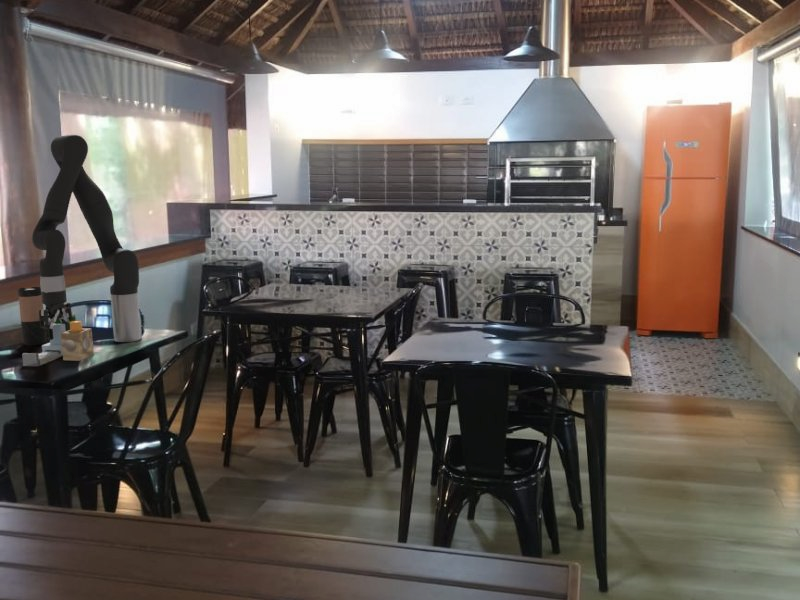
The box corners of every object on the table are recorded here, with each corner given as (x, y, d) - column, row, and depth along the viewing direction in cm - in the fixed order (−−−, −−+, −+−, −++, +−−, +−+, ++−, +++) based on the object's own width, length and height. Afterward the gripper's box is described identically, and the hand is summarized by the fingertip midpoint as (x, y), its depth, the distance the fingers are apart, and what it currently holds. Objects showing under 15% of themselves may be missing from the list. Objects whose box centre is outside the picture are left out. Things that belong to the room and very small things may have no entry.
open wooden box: (77, 354, 255) (75, 328, 253) (94, 354, 254) (92, 328, 252) (62, 360, 247) (60, 333, 245) (80, 361, 246) (78, 334, 244)
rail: (65, 348, 263) (64, 337, 262) (78, 349, 262) (77, 338, 261) (23, 366, 241) (22, 353, 240) (37, 366, 240) (36, 354, 239)
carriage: (55, 349, 259) (52, 322, 257) (75, 349, 258) (73, 322, 256) (42, 354, 252) (39, 326, 250) (63, 354, 251) (60, 326, 249)
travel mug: (37, 346, 267) (31, 290, 264) (18, 345, 269) (12, 289, 265) (51, 341, 275) (46, 286, 271) (32, 340, 276) (27, 286, 273)
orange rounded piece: (75, 335, 251) (73, 320, 251) (85, 335, 251) (83, 320, 250) (68, 337, 248) (67, 323, 247) (78, 338, 247) (77, 323, 246)
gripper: (56, 285, 259) (60, 331, 262) (29, 292, 245) (34, 341, 248) (76, 285, 257) (80, 332, 260) (50, 292, 244) (55, 342, 246)
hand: (57, 336), depth 254 cm, fingers open, 8 cm apart
